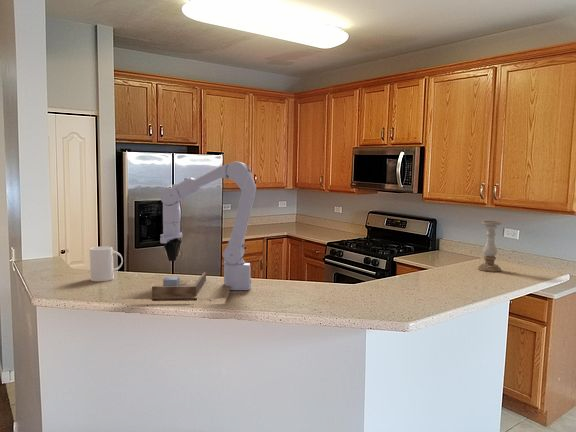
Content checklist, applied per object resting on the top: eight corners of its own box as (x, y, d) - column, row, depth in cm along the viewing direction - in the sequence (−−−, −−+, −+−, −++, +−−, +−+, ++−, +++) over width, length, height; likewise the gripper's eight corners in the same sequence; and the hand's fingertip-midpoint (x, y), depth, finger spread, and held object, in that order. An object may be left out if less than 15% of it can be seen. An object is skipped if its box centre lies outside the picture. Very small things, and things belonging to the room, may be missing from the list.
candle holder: (504, 272, 184) (507, 222, 183) (483, 272, 185) (485, 222, 183) (495, 267, 193) (497, 220, 191) (474, 267, 193) (476, 220, 191)
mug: (125, 275, 178) (124, 245, 177) (120, 280, 169) (119, 249, 168) (93, 276, 176) (92, 246, 175) (87, 282, 167) (86, 250, 166)
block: (179, 285, 157) (179, 276, 157) (176, 288, 152) (176, 279, 152) (166, 285, 157) (166, 276, 156) (163, 288, 152) (163, 279, 152)
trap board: (206, 284, 164) (205, 272, 163) (196, 300, 143) (195, 286, 143) (167, 284, 163) (167, 272, 163) (152, 300, 143) (151, 286, 142)
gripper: (169, 219, 166) (170, 256, 167) (151, 224, 151) (152, 264, 153) (187, 220, 165) (188, 257, 166) (171, 224, 150) (172, 265, 152)
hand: (172, 260), depth 159 cm, fingers closed
